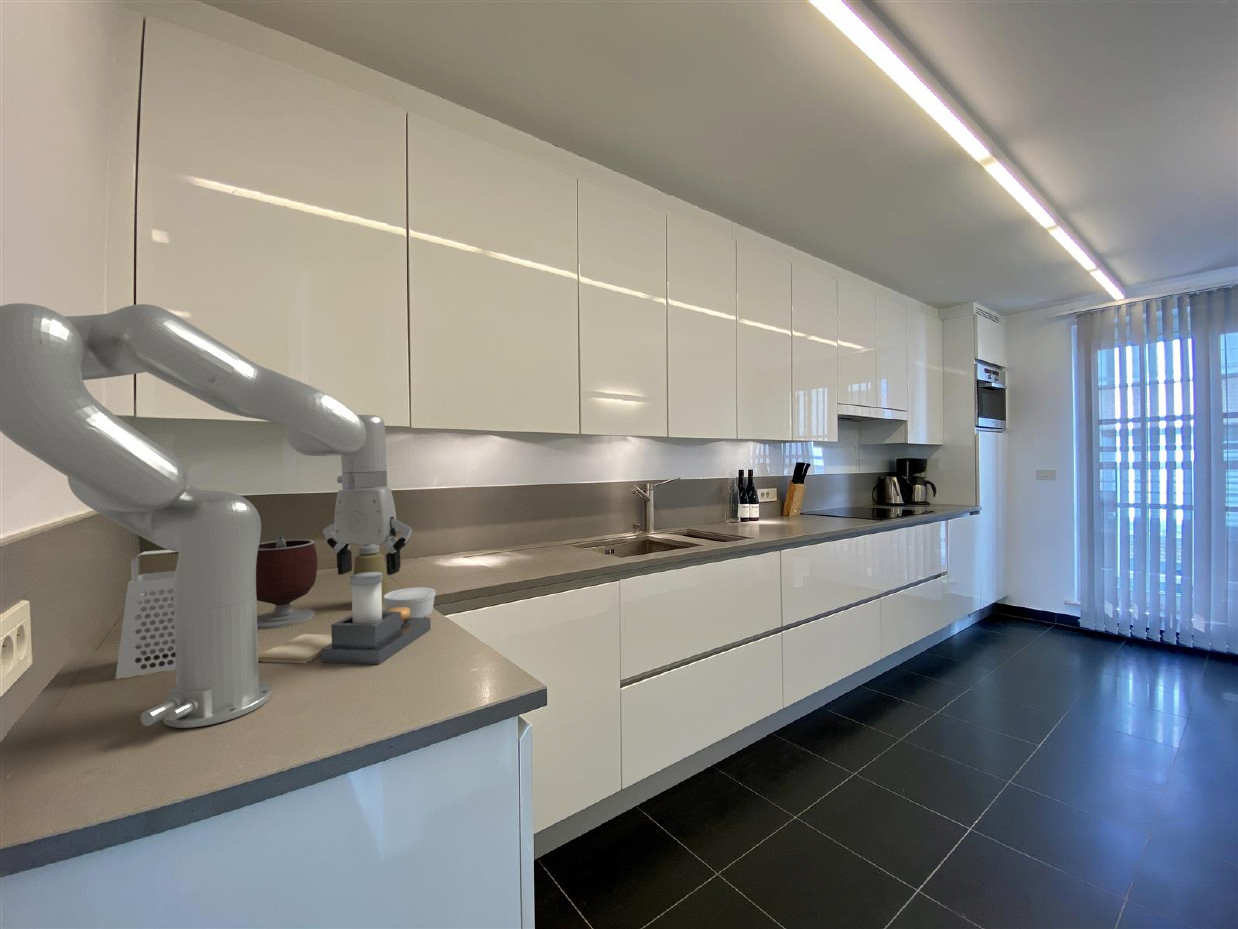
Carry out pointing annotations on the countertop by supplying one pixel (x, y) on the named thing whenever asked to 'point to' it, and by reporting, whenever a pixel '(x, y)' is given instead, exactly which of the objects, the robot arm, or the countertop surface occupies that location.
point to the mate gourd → (285, 580)
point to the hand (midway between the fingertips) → (369, 573)
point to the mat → (297, 649)
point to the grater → (147, 621)
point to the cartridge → (366, 597)
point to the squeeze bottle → (371, 563)
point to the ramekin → (412, 600)
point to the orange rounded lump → (404, 612)
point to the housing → (372, 639)
